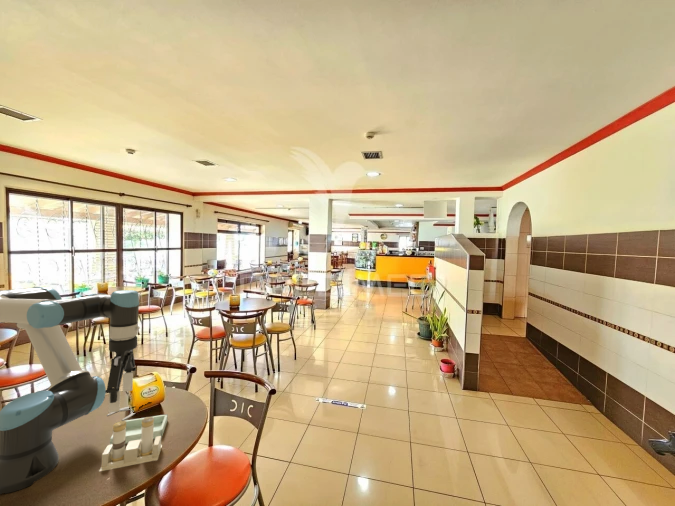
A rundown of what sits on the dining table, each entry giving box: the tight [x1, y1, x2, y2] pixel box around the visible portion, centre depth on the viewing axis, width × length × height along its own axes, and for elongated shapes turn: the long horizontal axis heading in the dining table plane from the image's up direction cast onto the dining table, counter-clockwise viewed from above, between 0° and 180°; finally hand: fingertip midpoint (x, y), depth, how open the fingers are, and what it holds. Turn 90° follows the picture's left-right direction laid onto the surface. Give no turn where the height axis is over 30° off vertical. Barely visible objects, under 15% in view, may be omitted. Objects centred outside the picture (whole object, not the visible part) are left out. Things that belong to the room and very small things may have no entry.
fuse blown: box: [112, 420, 126, 462], centre depth 95 cm, size 4×4×12 cm
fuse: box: [140, 416, 154, 457], centre depth 98 cm, size 4×4×12 cm
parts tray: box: [109, 413, 169, 445], centre depth 109 cm, size 16×11×4 cm
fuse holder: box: [98, 436, 163, 472], centre depth 96 cm, size 16×8×5 cm, turn 111°
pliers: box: [106, 406, 136, 421], centre depth 126 cm, size 10×2×15 cm
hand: (121, 400), depth 95 cm, fingers open, 13 cm apart
